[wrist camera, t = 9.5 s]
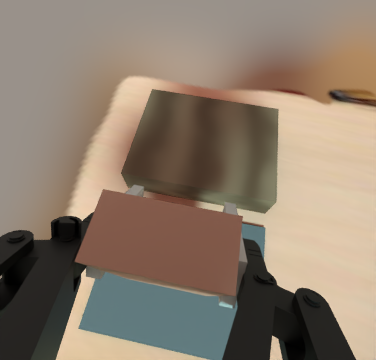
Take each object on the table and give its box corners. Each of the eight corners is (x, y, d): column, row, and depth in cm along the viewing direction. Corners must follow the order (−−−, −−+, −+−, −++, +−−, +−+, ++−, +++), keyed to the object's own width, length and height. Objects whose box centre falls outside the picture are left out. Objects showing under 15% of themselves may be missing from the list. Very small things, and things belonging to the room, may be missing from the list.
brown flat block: (268, 127, 35) (278, 109, 32) (264, 213, 29) (276, 202, 26) (155, 109, 37) (152, 89, 33) (128, 187, 30) (121, 173, 27)
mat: (264, 228, 28) (265, 227, 28) (257, 369, 22) (259, 371, 22) (123, 201, 30) (122, 200, 29) (80, 328, 23) (78, 328, 23)
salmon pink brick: (212, 254, 18) (242, 216, 9) (206, 296, 17) (235, 296, 8) (140, 239, 19) (103, 189, 10) (128, 279, 17) (74, 261, 8)
